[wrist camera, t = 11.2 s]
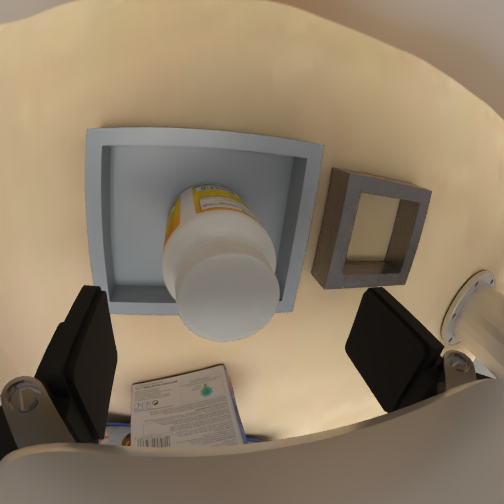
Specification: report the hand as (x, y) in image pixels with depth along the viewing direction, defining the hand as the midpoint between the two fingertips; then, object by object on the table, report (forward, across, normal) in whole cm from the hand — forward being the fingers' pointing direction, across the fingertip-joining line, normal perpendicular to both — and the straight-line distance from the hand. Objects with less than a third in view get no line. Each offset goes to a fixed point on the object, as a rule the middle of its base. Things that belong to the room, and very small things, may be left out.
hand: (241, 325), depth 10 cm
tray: (+12, +1, 0) cm, 12 cm away
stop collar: (+12, -13, 0) cm, 18 cm away
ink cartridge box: (+12, +2, +18) cm, 21 cm away
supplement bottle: (+11, 0, 0) cm, 11 cm away
